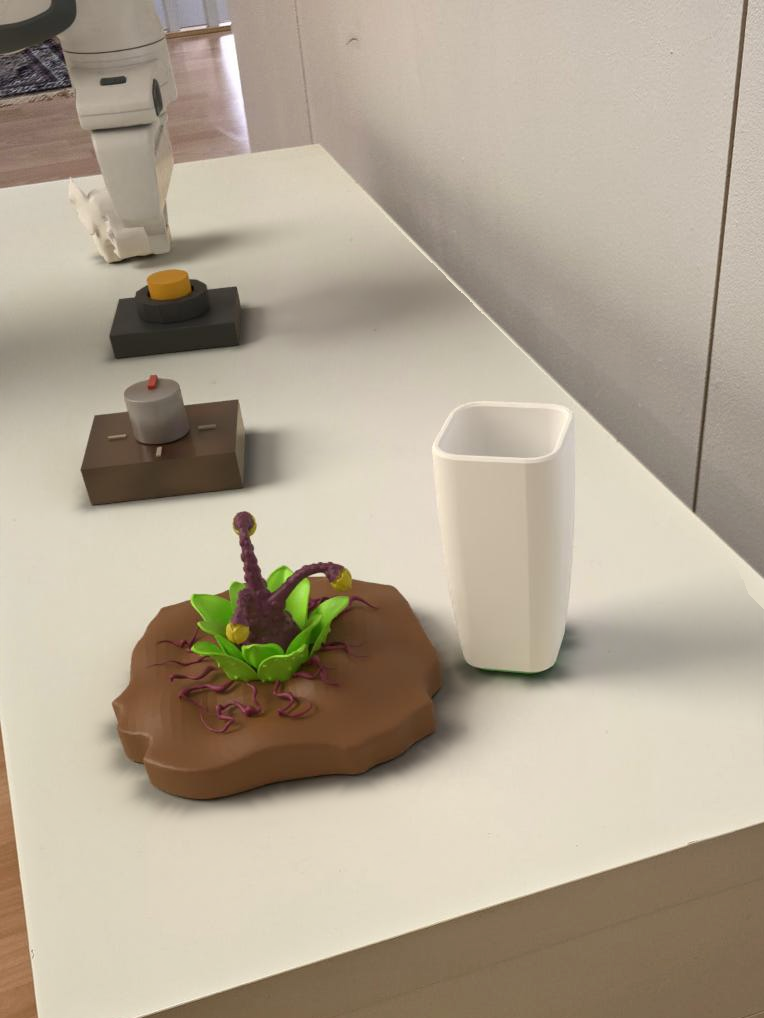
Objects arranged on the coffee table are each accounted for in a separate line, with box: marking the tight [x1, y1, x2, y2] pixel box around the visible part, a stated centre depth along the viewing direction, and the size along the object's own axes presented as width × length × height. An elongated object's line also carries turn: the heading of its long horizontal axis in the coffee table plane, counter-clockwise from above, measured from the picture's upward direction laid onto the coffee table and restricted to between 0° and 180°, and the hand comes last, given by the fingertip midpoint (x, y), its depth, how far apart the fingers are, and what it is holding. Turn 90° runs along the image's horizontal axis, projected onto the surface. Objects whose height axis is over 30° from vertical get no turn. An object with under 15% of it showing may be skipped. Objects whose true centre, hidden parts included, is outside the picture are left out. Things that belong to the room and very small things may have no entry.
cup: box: [431, 400, 576, 675], centre depth 73 cm, size 7×7×15 cm
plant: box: [111, 510, 443, 800], centre depth 73 cm, size 20×20×11 cm
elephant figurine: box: [67, 176, 154, 263], centre depth 136 cm, size 10×12×9 cm
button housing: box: [108, 278, 242, 359], centre depth 120 cm, size 12×10×4 cm
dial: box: [123, 374, 189, 444], centre depth 97 cm, size 4×4×4 cm
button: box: [146, 269, 192, 300], centre depth 119 cm, size 4×4×2 cm
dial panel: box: [80, 398, 246, 506], centre depth 99 cm, size 12×10×3 cm
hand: (162, 248), depth 116 cm, fingers closed
